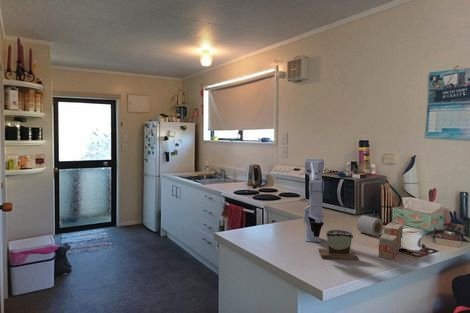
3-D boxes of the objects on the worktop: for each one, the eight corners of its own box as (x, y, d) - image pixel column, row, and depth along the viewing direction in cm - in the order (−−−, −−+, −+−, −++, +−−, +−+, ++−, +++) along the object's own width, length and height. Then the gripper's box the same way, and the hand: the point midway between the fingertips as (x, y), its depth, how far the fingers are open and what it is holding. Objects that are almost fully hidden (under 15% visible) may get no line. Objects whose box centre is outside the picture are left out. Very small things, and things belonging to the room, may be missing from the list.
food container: (349, 250, 161) (349, 230, 160) (352, 255, 155) (353, 233, 154) (323, 249, 162) (323, 229, 161) (325, 254, 156) (326, 232, 155)
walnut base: (318, 251, 164) (318, 248, 164) (351, 252, 163) (351, 249, 162) (322, 258, 154) (322, 255, 154) (357, 260, 153) (357, 256, 152)
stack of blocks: (392, 260, 153) (393, 233, 153) (378, 257, 157) (379, 231, 156) (402, 248, 170) (403, 224, 170) (388, 245, 174) (389, 222, 174)
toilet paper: (356, 233, 196) (357, 216, 195) (367, 230, 201) (368, 214, 201) (371, 237, 188) (372, 220, 187) (382, 235, 193) (383, 217, 192)
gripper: (327, 209, 150) (326, 239, 151) (321, 202, 164) (321, 230, 165) (311, 208, 151) (310, 238, 151) (307, 202, 165) (306, 229, 166)
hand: (315, 234), depth 158 cm, fingers open, 7 cm apart
